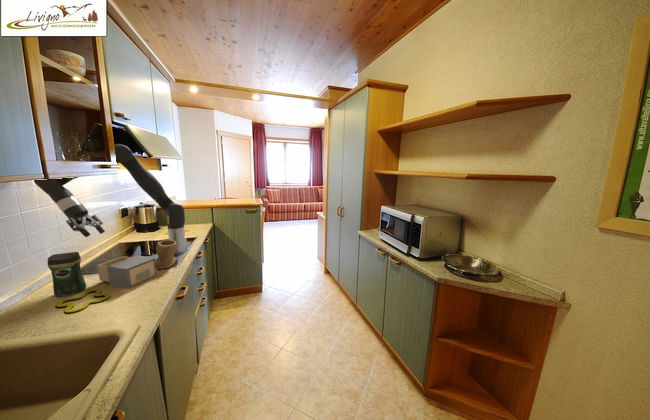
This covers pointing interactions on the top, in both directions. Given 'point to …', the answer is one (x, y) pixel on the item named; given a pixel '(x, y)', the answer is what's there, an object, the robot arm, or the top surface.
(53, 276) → the coffee jar
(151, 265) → the tray
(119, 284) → the sleeve
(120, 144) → the robot arm
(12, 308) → the top surface
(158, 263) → the stone cup
